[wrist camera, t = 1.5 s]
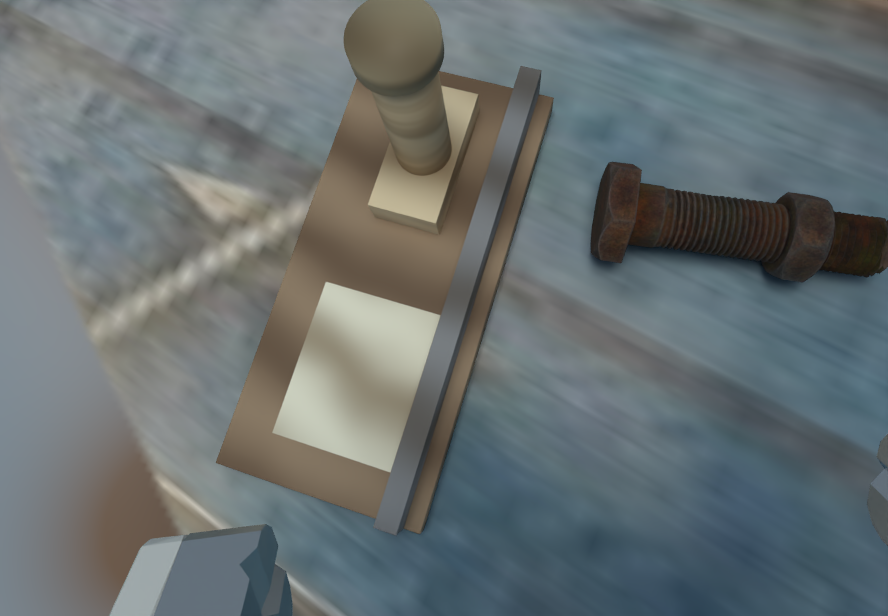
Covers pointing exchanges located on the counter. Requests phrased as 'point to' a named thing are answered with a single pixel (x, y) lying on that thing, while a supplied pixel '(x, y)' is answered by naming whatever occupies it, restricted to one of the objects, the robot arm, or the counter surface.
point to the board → (385, 317)
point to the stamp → (411, 109)
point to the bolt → (735, 228)
